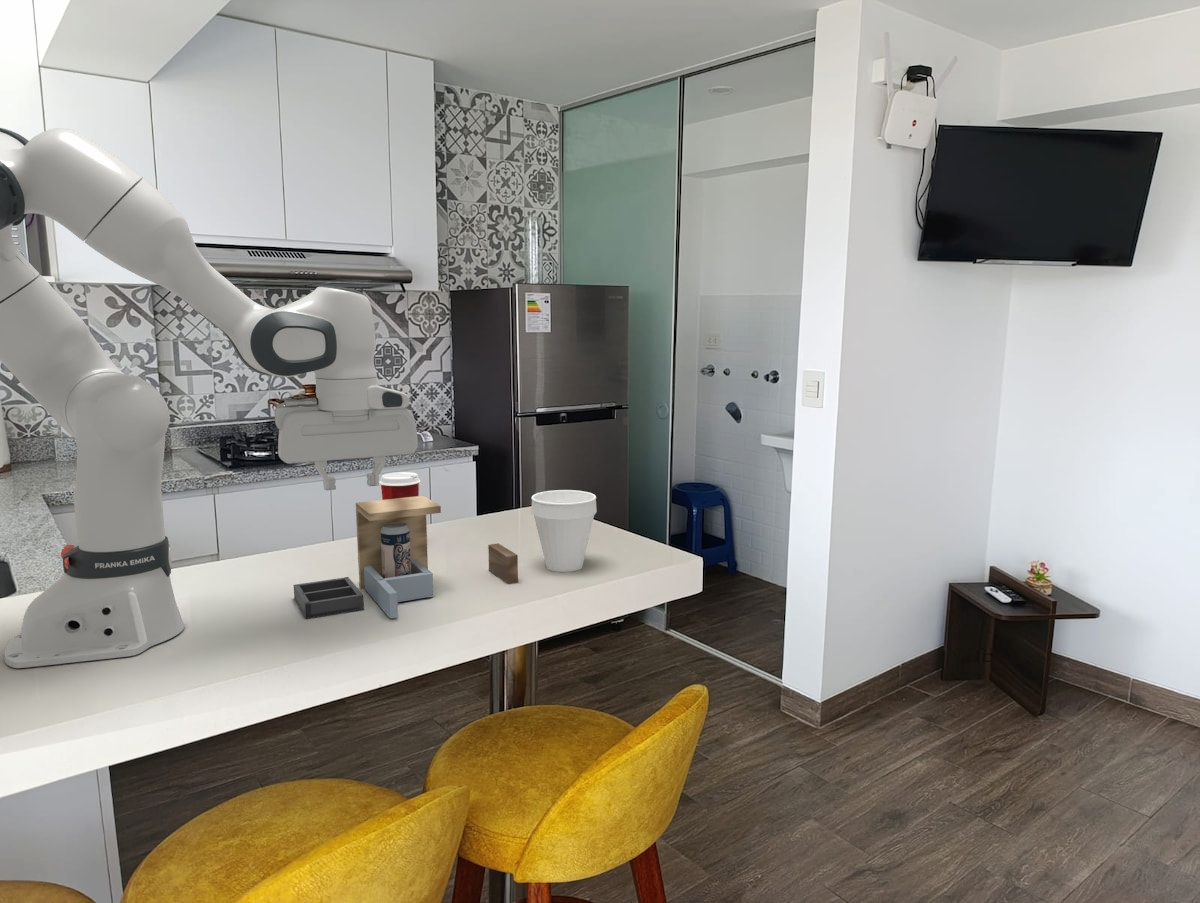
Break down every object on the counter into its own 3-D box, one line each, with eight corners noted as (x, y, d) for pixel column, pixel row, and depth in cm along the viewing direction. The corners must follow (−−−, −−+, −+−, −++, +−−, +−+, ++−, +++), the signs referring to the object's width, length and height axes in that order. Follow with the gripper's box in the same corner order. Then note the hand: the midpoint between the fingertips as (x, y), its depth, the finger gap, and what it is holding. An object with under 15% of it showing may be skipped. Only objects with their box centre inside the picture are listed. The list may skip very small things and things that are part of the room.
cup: (575, 580, 151) (574, 506, 148) (519, 570, 157) (517, 498, 155) (608, 563, 161) (608, 493, 159) (554, 554, 167) (554, 487, 165)
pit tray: (306, 618, 131) (305, 604, 131) (294, 598, 141) (293, 584, 140) (364, 609, 136) (363, 595, 135) (348, 590, 145) (348, 576, 145)
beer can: (404, 598, 141) (401, 529, 139) (378, 596, 142) (375, 527, 140) (416, 589, 145) (413, 522, 144) (390, 587, 146) (388, 521, 145)
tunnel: (373, 603, 138) (369, 513, 136) (359, 587, 147) (355, 502, 144) (443, 592, 144) (440, 505, 142) (426, 577, 152) (423, 495, 150)
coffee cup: (429, 542, 176) (427, 472, 174) (411, 553, 168) (409, 479, 166) (392, 540, 178) (389, 470, 176) (373, 550, 170) (370, 477, 168)
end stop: (507, 583, 149) (507, 556, 148) (488, 570, 156) (488, 544, 156) (518, 582, 150) (517, 555, 149) (498, 569, 157) (498, 543, 157)
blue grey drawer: (390, 618, 131) (389, 593, 130) (364, 589, 145) (363, 566, 144) (446, 608, 135) (446, 584, 134) (416, 581, 149) (416, 559, 149)
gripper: (276, 401, 117) (282, 498, 120) (419, 395, 127) (422, 484, 129) (270, 398, 123) (276, 490, 125) (407, 392, 133) (410, 478, 135)
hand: (351, 487), depth 127 cm, fingers open, 5 cm apart
